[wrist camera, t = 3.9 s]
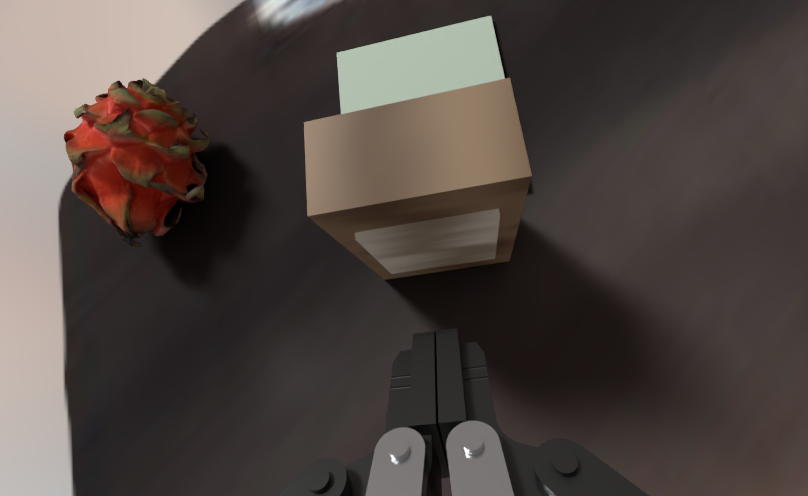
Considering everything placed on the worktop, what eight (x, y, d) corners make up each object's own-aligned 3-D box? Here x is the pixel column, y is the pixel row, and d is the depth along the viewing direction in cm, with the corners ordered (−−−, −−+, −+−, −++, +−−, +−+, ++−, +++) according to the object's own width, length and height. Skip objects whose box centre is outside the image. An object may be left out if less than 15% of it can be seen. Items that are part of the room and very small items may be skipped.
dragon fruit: (212, 119, 34) (207, 256, 33) (89, 100, 31) (77, 254, 29) (211, 65, 27) (205, 241, 25) (49, 32, 23) (30, 235, 21)
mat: (490, 19, 30) (490, 15, 29) (528, 189, 26) (528, 186, 25) (338, 56, 32) (336, 52, 31) (350, 220, 27) (348, 218, 27)
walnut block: (498, 202, 26) (509, 77, 14) (510, 265, 25) (533, 184, 13) (379, 222, 27) (304, 122, 16) (385, 284, 26) (307, 223, 14)
